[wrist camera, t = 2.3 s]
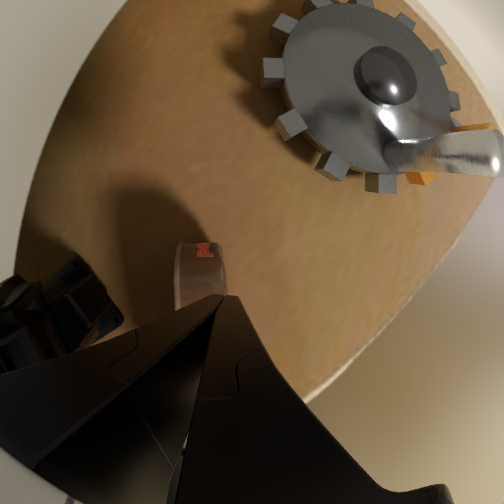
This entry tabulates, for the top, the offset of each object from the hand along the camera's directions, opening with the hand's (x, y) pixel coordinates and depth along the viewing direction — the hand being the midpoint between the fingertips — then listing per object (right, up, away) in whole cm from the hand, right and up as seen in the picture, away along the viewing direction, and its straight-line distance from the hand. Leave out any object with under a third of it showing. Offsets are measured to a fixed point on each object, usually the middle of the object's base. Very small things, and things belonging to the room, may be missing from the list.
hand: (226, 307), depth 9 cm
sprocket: (+9, +13, +8) cm, 18 cm away
